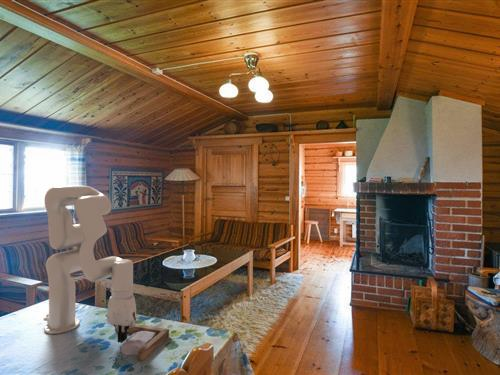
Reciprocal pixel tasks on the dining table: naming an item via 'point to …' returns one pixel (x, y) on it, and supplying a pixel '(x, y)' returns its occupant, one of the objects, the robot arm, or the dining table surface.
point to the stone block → (136, 342)
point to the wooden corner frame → (154, 343)
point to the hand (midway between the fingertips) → (122, 340)
